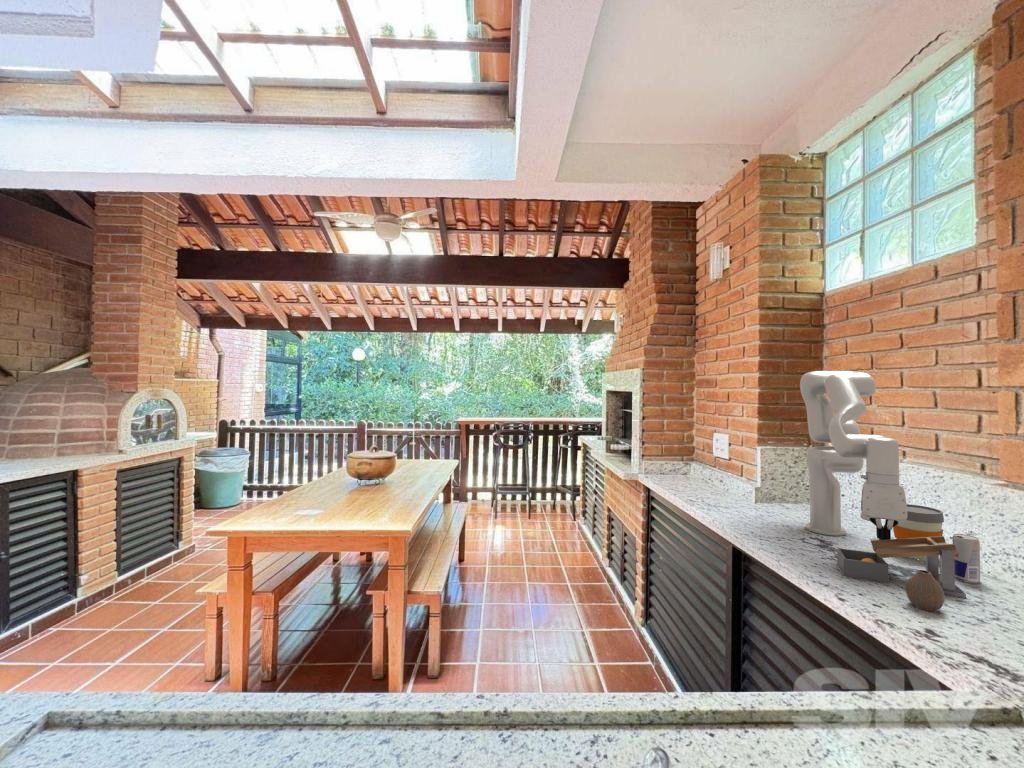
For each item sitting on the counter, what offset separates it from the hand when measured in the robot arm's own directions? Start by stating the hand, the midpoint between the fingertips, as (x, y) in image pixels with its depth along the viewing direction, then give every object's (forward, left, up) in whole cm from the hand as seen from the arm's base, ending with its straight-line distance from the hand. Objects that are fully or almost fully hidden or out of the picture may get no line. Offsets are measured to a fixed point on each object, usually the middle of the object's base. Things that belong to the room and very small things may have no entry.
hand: (883, 541), depth 133 cm
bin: (+7, -7, -8) cm, 13 cm away
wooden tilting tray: (+4, +5, 0) cm, 6 cm away
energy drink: (-1, +18, -8) cm, 20 cm away
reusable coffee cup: (-18, +12, -8) cm, 23 cm away
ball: (+7, -5, -6) cm, 10 cm away
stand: (+7, +10, -8) cm, 15 cm away
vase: (+25, +2, -8) cm, 27 cm away
